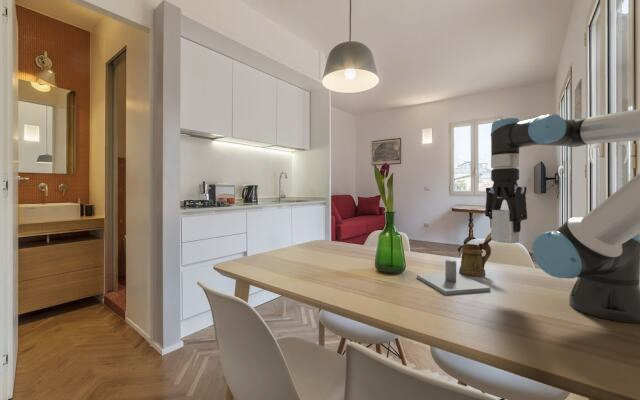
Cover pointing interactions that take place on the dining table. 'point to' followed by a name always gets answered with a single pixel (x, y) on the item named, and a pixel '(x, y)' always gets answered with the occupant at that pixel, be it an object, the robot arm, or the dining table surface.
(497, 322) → the dining table surface
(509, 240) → the robot arm
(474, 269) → the wooden mug
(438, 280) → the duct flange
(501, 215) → the sleeve
